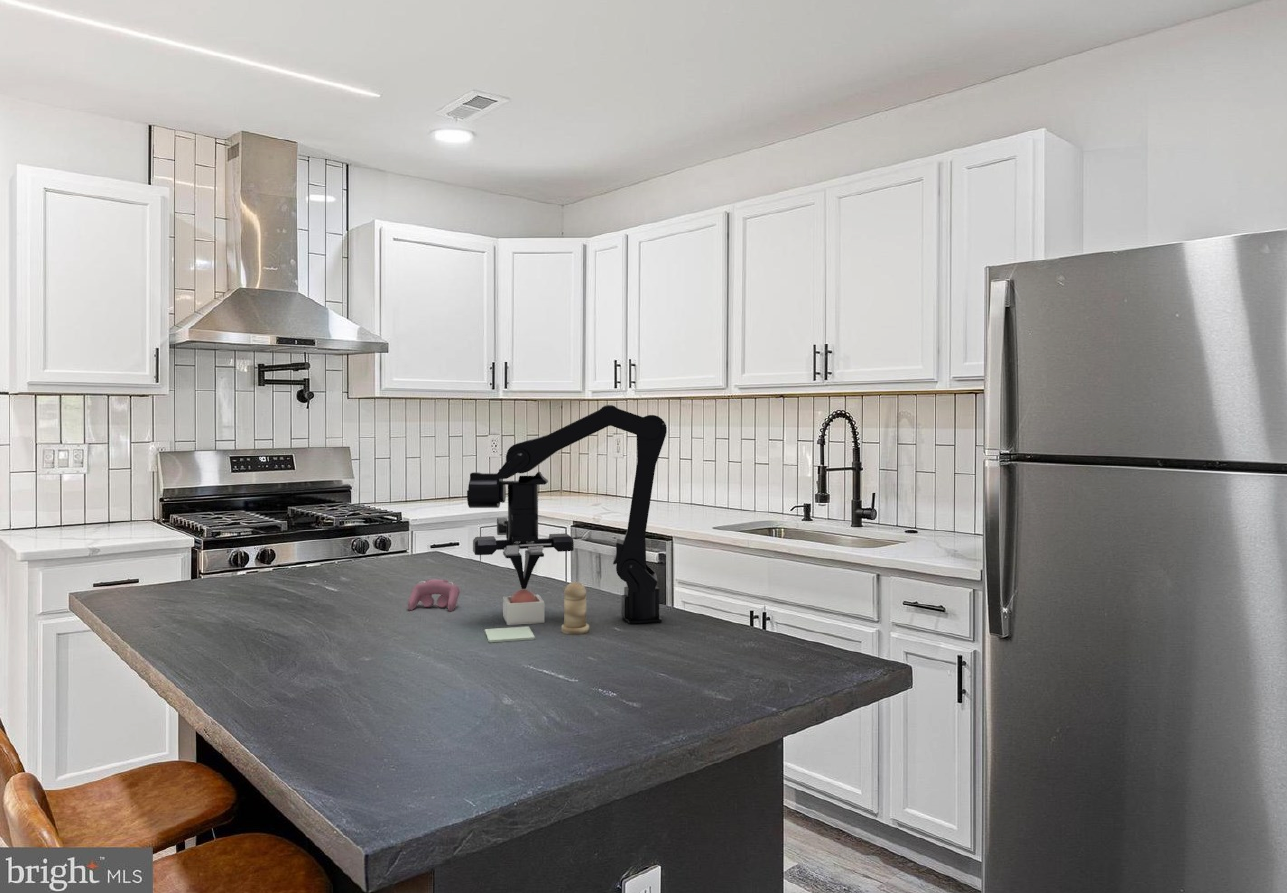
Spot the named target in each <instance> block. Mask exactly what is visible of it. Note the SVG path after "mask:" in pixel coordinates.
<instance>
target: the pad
mask: <svg viewBox="0 0 1287 893" xmlns="http://www.w3.org/2000/svg"><path fill="white" fill-rule="evenodd" d="M484 633H485V636H486V637H487V641H488V643H502V642H505V643H506V642H518V641H530V640H532V641H533V640H536V637H535V635H534V633H533V631H532V630H531V628H530V626H517V627H516V626H515V627H500V628H499V627H498V628H486V629H484Z"/></svg>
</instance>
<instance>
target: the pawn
mask: <svg viewBox="0 0 1287 893" xmlns="http://www.w3.org/2000/svg"><path fill="white" fill-rule="evenodd" d="M563 594H564V599H563V602H564V603H563V604H564V609H563V611H564V613H563V614H564V615H563V617H564V620H563V621H564V622H563V624H562V625H561V632H562V633H563V634H566V635H575V636H576V635H584V634H586V633H587V634H588V633H589V632H590V624H588V623H587V590H586V587H585V585H583V584H582V582H578V581H573V582H570V583H569V584H567V585H566V586H565V588H564V593H563Z"/></svg>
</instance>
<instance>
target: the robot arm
mask: <svg viewBox="0 0 1287 893" xmlns="http://www.w3.org/2000/svg"><path fill="white" fill-rule="evenodd" d="M610 426H611V427H614V428H617V429H619V430H622V431H623V432H624V431H625V432H628V433H630V434H634V435H636V456H637V457H636V458H637V459H636V461H637V463H636V468H635V475H634V482H633V489H632V496H631V504H630V510H629V515H628V523H627V530H626V532H625V536H624V537H623V538H624V539H623V540H622V539H620V538H617V539H616V543H615V555H614V556H613V562H612V564H613V565H616V567H615V569H616V570H615V572H616V574H617V576H618V577H619V579H620V580H622V581H624V583H626V585H627V586H624V587H623V594H622V595H621V596H620V597H621V600H620V601H621V604H620V605H621V608H620V609H621V617H622V619H624V620H625V621H626V622H627V623H628V624H642V623H643V624H644V623H645V624H646V623H658V622H659V623H660V622H663V618H662V617H661V616H660V588H659V587H658V586H657V585H658V577H657V573H656V571H654V570H653V569H652V568H651V567H650V566H649V565H648V564H647V551H646V550H647V546H646V542H647V541H646V533H647V526H648V519H649V518H648V517H649V512H650V505H651V498H652V491H653V484H654V478H655V471H656V465H657V463H658V460H659V457H660V453H661V451H662V448H663V445H664V442H665V439H666V437H667V431H668V430H667V424H666V422H665V421H664V420H663V419H662V418H661V417H660V416H658V415H654V414H649V415H645V416H642V415H638V414H636V413H632V412H629V411H626V410H624V409H620V408H618V407H617V406H614V405H613V404H606V405H604V406H602V407H600V408H599V409H597V411H594V412H592V413H590V414H588V415H586V416H584V417H581V418H580V419H577V420H575V421H573V422H571V423H569V424H568V425H565V426H563V427H561V428H559V429H557V430H556V431H553V432H551V433H549V434H546V435H542V436H539V437H535V438H532V439H528V440H525V441H521V442H518V443H515V444H513V445H511V446H510V447H509V448H508V450H507V451H506V454H505V462H504V464H503V465H502V466H501V468H499V469H498V472H496V473H494V472H493V473H491V472H490V473H488V472H487V473H483V472H482V473H481V472H478V471H477V472H471V473H469V482H468V487H467V488H468V489H467V490H466V498H467V499H466V500H467V506H468V508H470V509H490V508H491V509H496V508H497V509H498V508H500V507H501V506H500V505H501V503H502V504H503V503H506V497H507V517H497V518H496V534H497V536H505V537H506V539H496V537H495V536H494V535H493V536H492V535H489V536H476V537H474V538H473V539H472V552H473V553H474V555H475V556H490V555H491V556H492V555H493V554H495V553H496V551H501V550H502V555H503V556H504V558H505V559H510V562H511V563H512V565H513V568H514V571H515V573H516V577H517V579H518V583H519V586H520V588H521V589H520V590H522V589H525V590H527V587H528V584H529V581H530V578H531V577H532V573H533V571H534V569H535V566H536V564H537V562H538V560H539V558H544V557H545V553H544V552H543V550H544V549H546V548H547V549H549V548H550V549H551V548H553V549H555V551H557V552H558V553H559V552H561V553H562V552H572V551H573V552H574V545H575V543H574V538H573V537H572V536H570V535H569V534H568V533H566V532H565V533H549V534H548V535H549V536H548V537H545V538H539V486H540V485H547V484H548V483H549V480H548V479H547V478H546V477H544V476H543V474H542V472H541V471H537V472H536V474H534V475H519V477H518V480H506V479H509V478H511V477H513V476H515V475H517V474H524V473H528V472H530V471H532V470H534V469H535V468H537V467H538V466H539V465H541V464H542V463H543V462H545V461H546V460H547V459H549V458H550V457H551V456H554V455H555V453H557V452H558V451H560V450H562V449H564V448H567V447H569V446H571V445H572V444H574V443H577V442H578V441H581V440H583V439H585V438H587V437H589V436H591V435H593V434H596V433H597V432H599V431H602V430H604V429H605V428H607V427H610ZM506 486H507V487H506ZM506 488H507V489H506ZM523 549H525V550H524V566H523V559H522V557H523V556H522V554H521V553H520V550H523ZM526 549H527V550H526Z"/></svg>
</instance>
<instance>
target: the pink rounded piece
mask: <svg viewBox="0 0 1287 893" xmlns="http://www.w3.org/2000/svg"><path fill="white" fill-rule="evenodd" d="M534 595H535V594H534V593H533V592H532V591H530V590H528V589H519V590H517V591H515V593H513V595H512V598H511V602H510V603H523V602H536V598H535V596H534Z"/></svg>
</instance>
